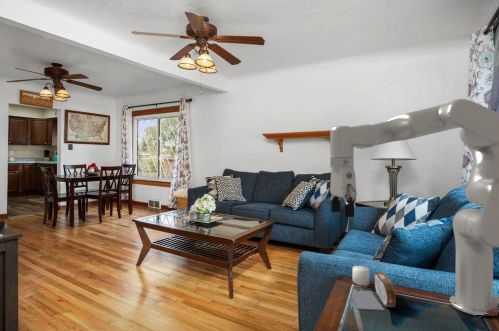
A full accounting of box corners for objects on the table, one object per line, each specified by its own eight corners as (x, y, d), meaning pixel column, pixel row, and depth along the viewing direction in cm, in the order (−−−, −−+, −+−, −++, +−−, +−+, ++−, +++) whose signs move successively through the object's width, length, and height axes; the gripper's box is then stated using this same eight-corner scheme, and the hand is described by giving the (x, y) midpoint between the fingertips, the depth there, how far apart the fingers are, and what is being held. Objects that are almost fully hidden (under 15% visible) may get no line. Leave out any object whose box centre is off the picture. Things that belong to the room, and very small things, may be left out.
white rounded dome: (366, 281, 114) (366, 266, 114) (371, 287, 108) (371, 271, 108) (350, 280, 115) (350, 265, 114) (354, 287, 109) (354, 271, 109)
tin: (396, 312, 90) (396, 285, 90) (385, 311, 91) (386, 284, 91) (382, 291, 105) (382, 268, 105) (372, 290, 106) (373, 267, 106)
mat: (370, 291, 105) (370, 290, 105) (384, 310, 91) (384, 309, 91) (347, 290, 106) (347, 289, 106) (358, 309, 92) (358, 308, 92)
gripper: (366, 163, 89) (366, 218, 89) (340, 163, 106) (340, 209, 107) (343, 163, 88) (343, 219, 88) (321, 163, 105) (321, 210, 105)
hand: (342, 214), depth 97 cm, fingers open, 9 cm apart
